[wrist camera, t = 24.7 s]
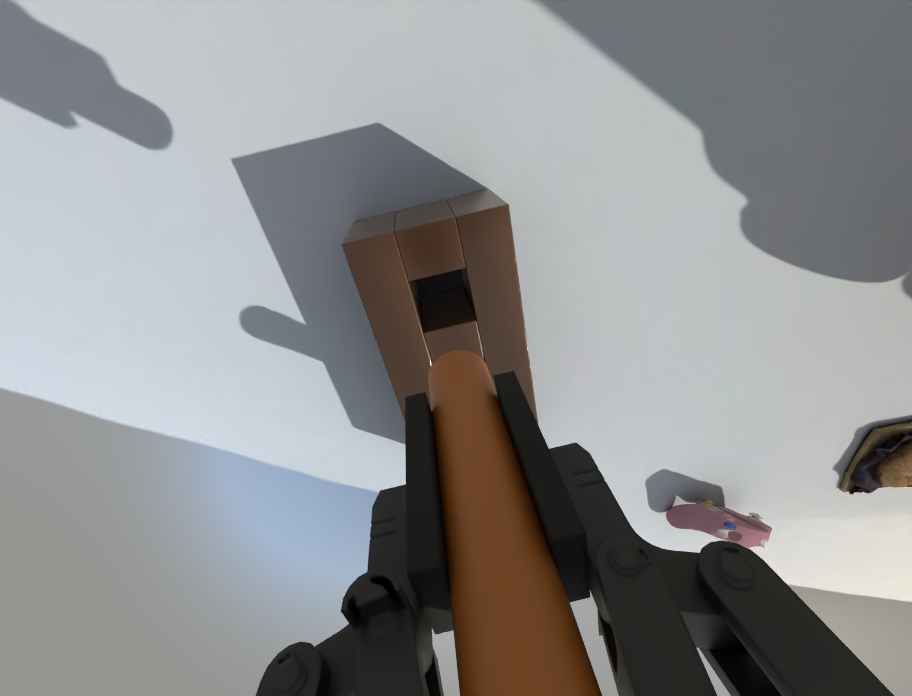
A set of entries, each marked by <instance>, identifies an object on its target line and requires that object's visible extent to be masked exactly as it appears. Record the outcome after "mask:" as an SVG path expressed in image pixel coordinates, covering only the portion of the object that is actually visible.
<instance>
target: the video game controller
mask: <svg viewBox="0 0 912 696" xmlns="http://www.w3.org/2000/svg"><path fill="white" fill-rule="evenodd" d="M712 504H713V503H712V502H711V501H709V500H705V501H702V500H698V499H697V501H696V504H683V505H678V506H674V507H672V508H670V509H669V510H668V512H667V513H666V518H667V520H668V522H669V523H670V524H671V525H672V526H674V527H676V528H680V529H693V530H699V531H702V532H705V533H708V534H711V535H713V536H715V537H717V538H721V539H724V540H726V541H728V542H733V543H737V544H739V545H741V546H744V547H746V548H749V547H753V546H761V547H764V543H765V542H766V541H768V539H769V536H770V533H771V530H772V528H771V527H769V526H768V525H766V524H764V523H762V522H761V521H760V520H759V519H758V518H760V519H762V518H761V517H760V516H759V515H758V514H755V513H749V514H750V515H752V516H745V515H742V514H739V513H737V512H734V511H732V510H730V509H727V508H725V507H722V506H719V505H716V506H714V505H712Z"/></svg>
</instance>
